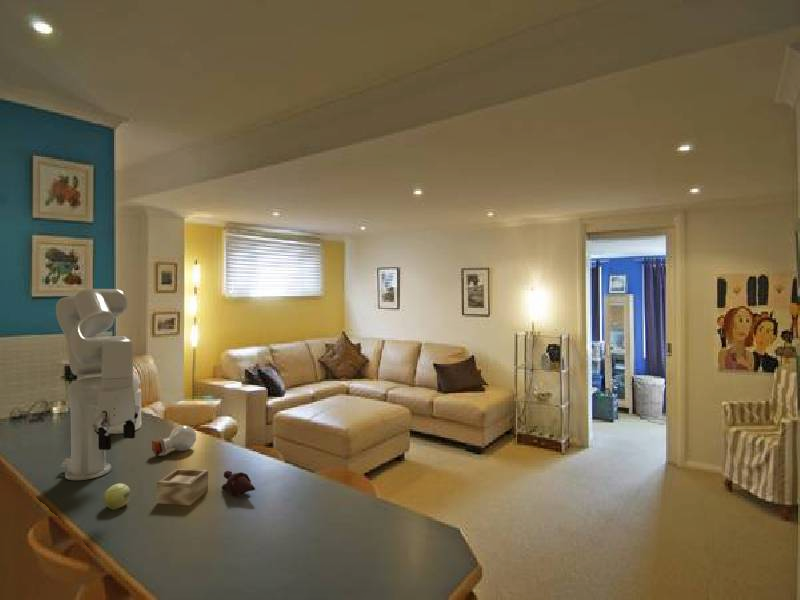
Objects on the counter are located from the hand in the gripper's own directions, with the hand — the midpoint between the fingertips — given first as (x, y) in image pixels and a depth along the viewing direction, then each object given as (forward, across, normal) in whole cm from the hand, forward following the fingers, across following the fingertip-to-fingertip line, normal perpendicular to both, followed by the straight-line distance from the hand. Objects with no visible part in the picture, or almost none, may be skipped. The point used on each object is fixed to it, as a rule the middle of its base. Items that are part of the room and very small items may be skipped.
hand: (117, 443), depth 129 cm
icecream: (+18, -11, +30) cm, 37 cm away
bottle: (+17, -65, -46) cm, 82 cm away
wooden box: (+18, -8, +15) cm, 25 cm away
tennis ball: (+18, 0, 0) cm, 18 cm away
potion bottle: (+18, -42, -8) cm, 47 cm away
